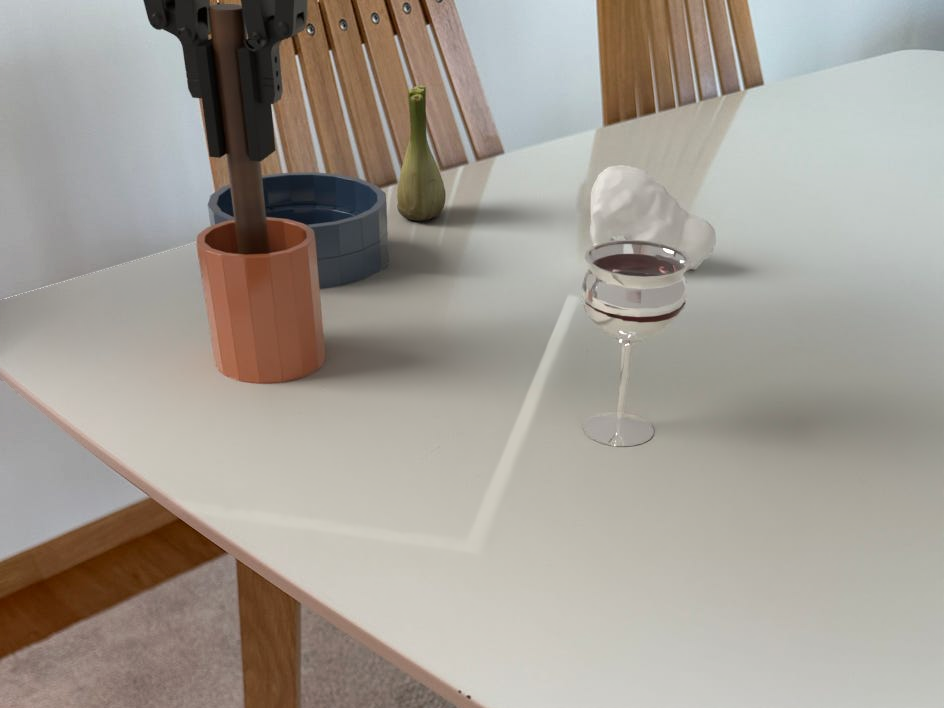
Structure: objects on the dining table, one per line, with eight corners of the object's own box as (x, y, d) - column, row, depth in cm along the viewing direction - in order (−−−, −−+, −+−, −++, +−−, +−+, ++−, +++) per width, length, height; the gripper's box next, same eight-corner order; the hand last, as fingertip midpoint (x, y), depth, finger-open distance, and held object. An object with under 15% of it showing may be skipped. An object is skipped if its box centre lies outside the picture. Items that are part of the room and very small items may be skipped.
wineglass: (583, 400, 77) (597, 234, 69) (674, 414, 75) (699, 246, 67) (559, 443, 72) (572, 269, 64) (657, 460, 70) (682, 284, 62)
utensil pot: (199, 386, 77) (176, 250, 71) (242, 341, 84) (224, 212, 77) (304, 398, 76) (290, 261, 70) (340, 352, 82) (330, 222, 76)
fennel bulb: (415, 205, 110) (412, 79, 103) (456, 213, 109) (456, 85, 101) (387, 221, 106) (381, 91, 99) (429, 229, 105) (427, 97, 97)
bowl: (189, 288, 92) (178, 218, 88) (256, 230, 104) (249, 166, 100) (359, 306, 89) (354, 235, 86) (408, 244, 101) (406, 179, 97)
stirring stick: (239, 322, 77) (199, 8, 64) (251, 310, 78) (213, 2, 66) (273, 325, 76) (238, 11, 64) (283, 314, 78) (252, 5, 65)
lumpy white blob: (598, 153, 95) (729, 174, 94) (582, 246, 100) (705, 267, 100) (593, 173, 90) (731, 195, 90) (577, 270, 96) (706, 292, 95)
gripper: (348, -316, 57) (368, 148, 72) (90, -320, 59) (162, 130, 74) (300, -325, 51) (332, 180, 66) (17, -330, 53) (111, 159, 68)
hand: (242, 152), depth 70 cm, fingers closed on stirring stick, 2 cm apart
